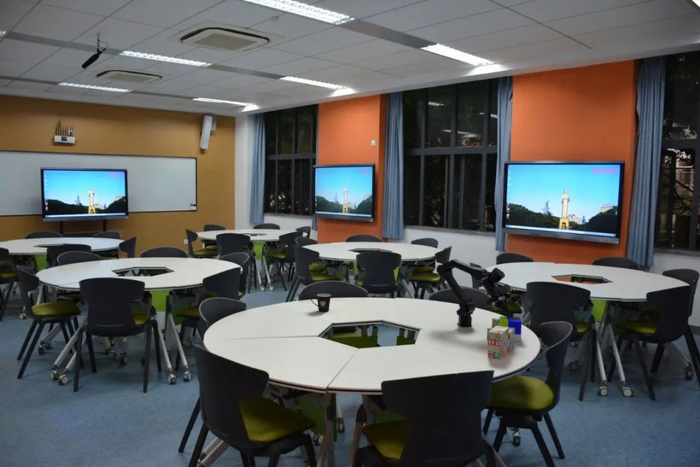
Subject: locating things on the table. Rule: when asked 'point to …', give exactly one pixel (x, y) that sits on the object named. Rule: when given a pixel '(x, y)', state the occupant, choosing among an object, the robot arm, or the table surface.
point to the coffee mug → (323, 302)
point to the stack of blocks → (499, 342)
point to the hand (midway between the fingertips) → (509, 312)
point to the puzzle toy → (512, 325)
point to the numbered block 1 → (495, 322)
